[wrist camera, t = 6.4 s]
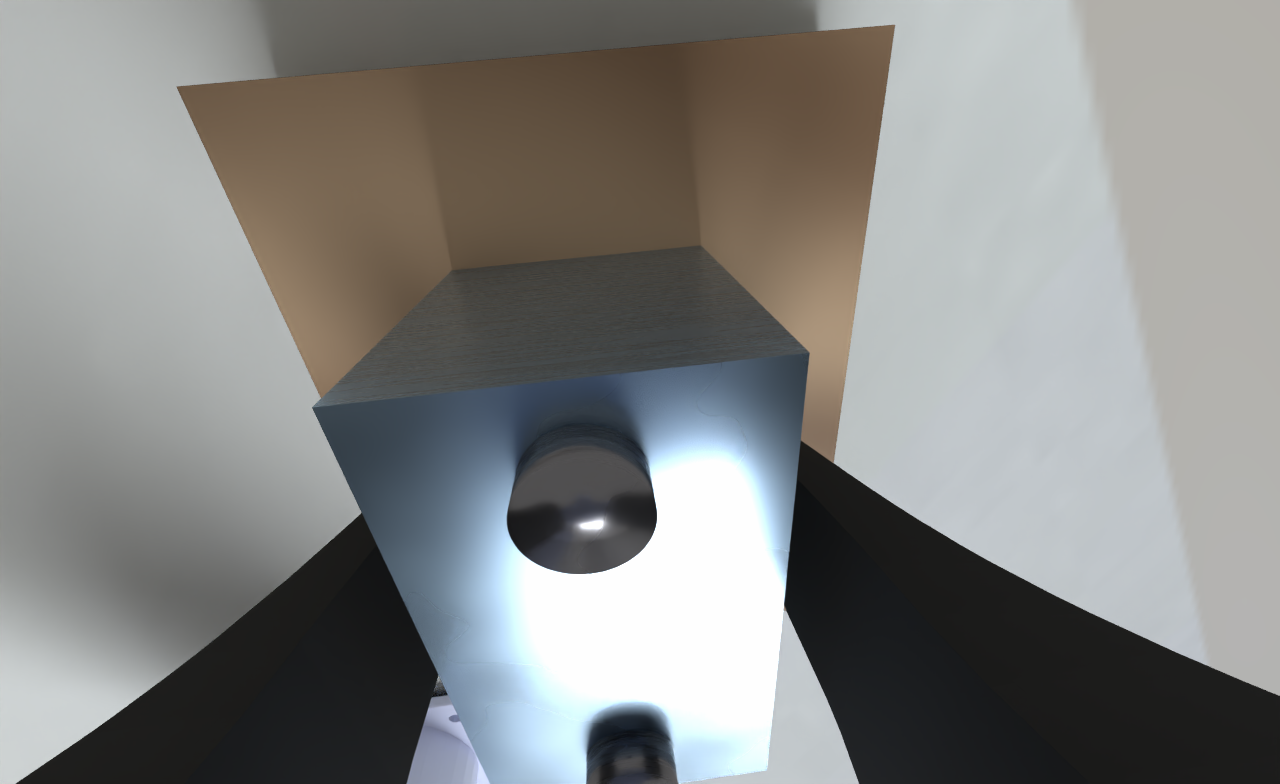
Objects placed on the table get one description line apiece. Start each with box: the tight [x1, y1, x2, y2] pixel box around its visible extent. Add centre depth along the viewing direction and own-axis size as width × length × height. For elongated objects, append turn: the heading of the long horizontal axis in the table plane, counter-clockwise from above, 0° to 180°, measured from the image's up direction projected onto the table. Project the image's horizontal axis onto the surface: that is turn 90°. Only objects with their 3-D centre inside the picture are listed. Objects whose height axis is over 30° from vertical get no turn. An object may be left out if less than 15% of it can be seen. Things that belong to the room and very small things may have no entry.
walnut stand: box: [177, 25, 895, 611], centre depth 12 cm, size 14×11×3 cm
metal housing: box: [312, 246, 810, 784], centre depth 8 cm, size 5×8×6 cm, turn 4°
